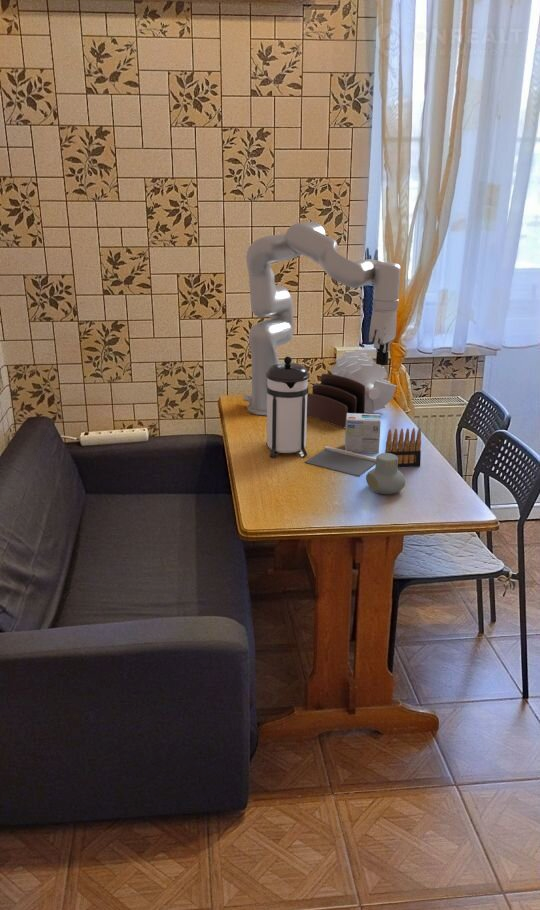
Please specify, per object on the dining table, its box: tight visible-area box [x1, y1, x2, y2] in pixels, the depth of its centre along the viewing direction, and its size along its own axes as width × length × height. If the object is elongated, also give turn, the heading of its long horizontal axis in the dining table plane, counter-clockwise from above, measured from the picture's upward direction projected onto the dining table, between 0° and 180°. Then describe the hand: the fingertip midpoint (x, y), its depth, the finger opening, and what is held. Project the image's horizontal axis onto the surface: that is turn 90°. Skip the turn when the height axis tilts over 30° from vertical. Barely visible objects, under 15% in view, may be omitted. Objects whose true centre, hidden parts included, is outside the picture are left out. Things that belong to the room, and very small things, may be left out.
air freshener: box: [365, 452, 406, 495], centre depth 209 cm, size 11×8×10 cm
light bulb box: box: [344, 413, 381, 454], centre depth 237 cm, size 11×7×11 cm, turn 84°
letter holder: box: [307, 373, 366, 429], centre depth 262 cm, size 10×20×14 cm, turn 44°
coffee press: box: [265, 356, 310, 459], centre depth 232 cm, size 17×16×30 cm
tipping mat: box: [304, 445, 376, 477], centre depth 229 cm, size 18×13×1 cm
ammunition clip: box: [384, 427, 422, 469], centre depth 224 cm, size 11×2×12 cm, turn 97°
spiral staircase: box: [330, 348, 398, 414], centre depth 275 cm, size 18×18×25 cm
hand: (381, 364), depth 237 cm, fingers closed
